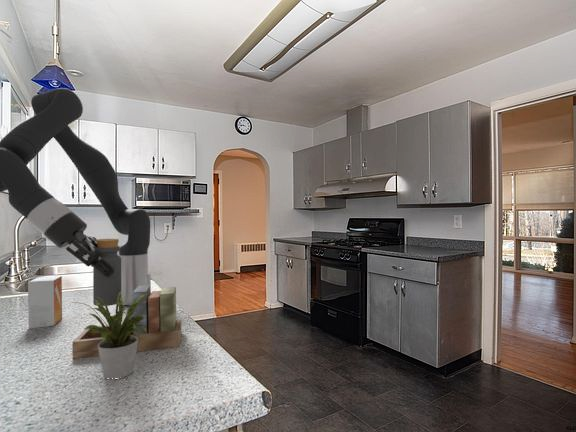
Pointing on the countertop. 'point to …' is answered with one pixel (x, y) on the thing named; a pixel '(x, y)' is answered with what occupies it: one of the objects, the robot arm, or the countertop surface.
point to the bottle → (101, 284)
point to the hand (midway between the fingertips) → (115, 271)
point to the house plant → (117, 338)
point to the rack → (158, 322)
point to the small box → (44, 301)
